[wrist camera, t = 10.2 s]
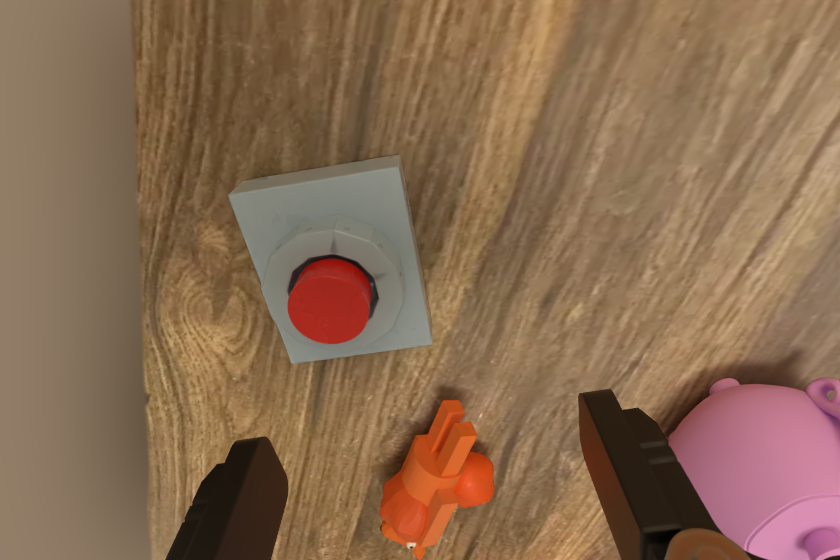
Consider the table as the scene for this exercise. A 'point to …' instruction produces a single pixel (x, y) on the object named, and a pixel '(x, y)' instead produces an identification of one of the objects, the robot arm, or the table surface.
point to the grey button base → (338, 248)
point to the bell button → (330, 301)
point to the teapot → (767, 466)
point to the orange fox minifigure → (435, 481)
